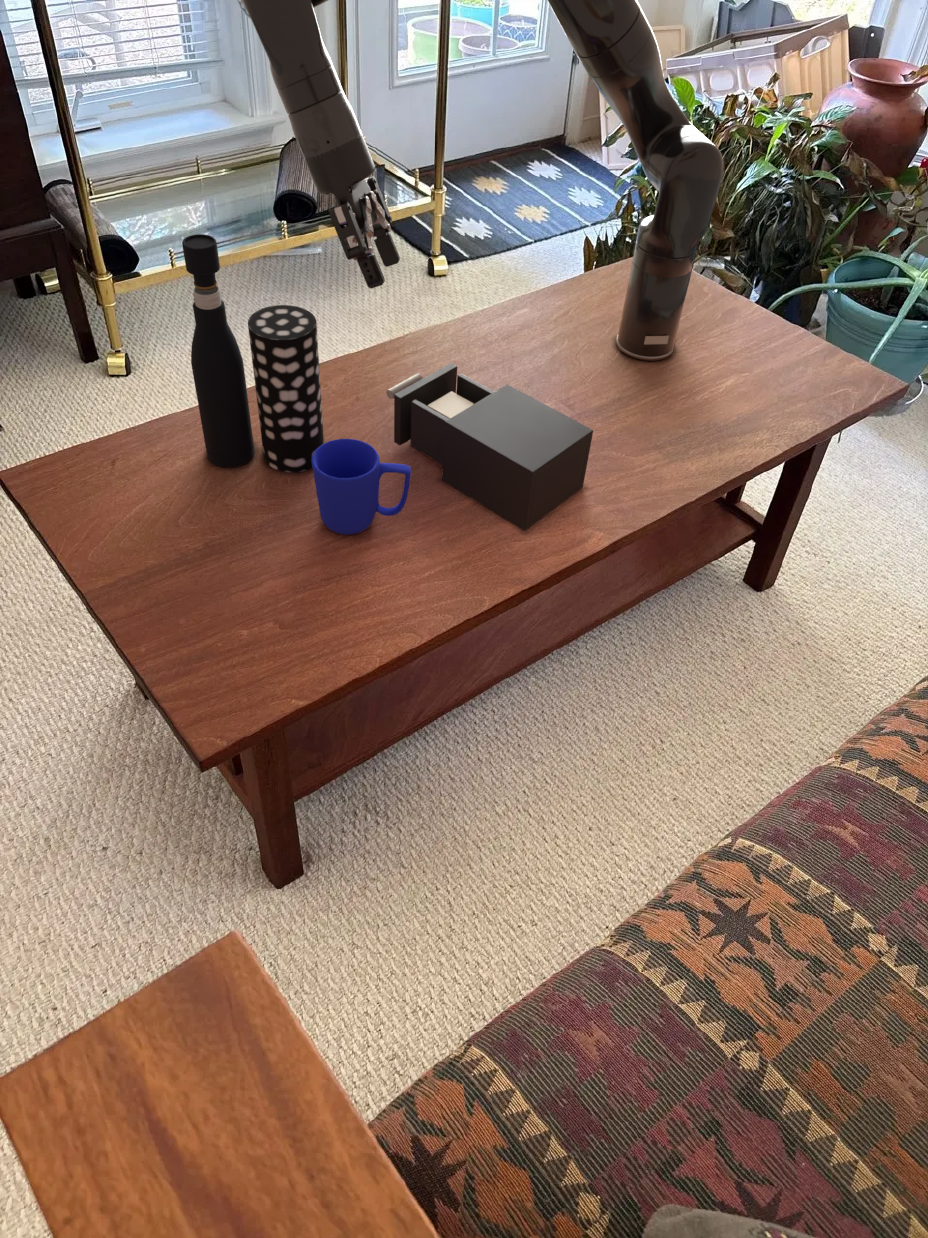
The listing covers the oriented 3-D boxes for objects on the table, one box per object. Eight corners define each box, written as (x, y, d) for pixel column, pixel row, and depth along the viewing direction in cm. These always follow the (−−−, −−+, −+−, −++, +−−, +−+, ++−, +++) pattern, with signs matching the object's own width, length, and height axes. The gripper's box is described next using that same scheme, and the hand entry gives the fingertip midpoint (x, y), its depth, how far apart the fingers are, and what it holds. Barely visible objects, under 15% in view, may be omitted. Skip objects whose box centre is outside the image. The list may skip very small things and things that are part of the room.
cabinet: (441, 480, 129) (444, 421, 122) (501, 441, 136) (507, 383, 129) (524, 531, 123) (532, 472, 116) (582, 487, 129) (593, 429, 122)
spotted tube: (292, 428, 135) (280, 298, 120) (336, 451, 132) (330, 320, 117) (250, 456, 130) (233, 323, 116) (296, 480, 127) (284, 347, 112)
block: (425, 435, 132) (427, 405, 129) (449, 420, 135) (451, 390, 131) (452, 451, 130) (454, 420, 127) (476, 436, 133) (478, 405, 129)
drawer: (372, 429, 134) (372, 381, 129) (427, 397, 141) (429, 350, 135) (466, 485, 127) (469, 438, 121) (519, 449, 133) (525, 402, 127)
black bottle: (215, 472, 127) (179, 258, 105) (201, 446, 131) (163, 233, 109) (261, 461, 129) (235, 248, 108) (245, 435, 133) (217, 224, 111)
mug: (407, 545, 120) (409, 483, 112) (312, 540, 119) (307, 477, 112) (411, 503, 125) (413, 441, 118) (320, 498, 125) (315, 435, 118)
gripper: (343, 144, 106) (399, 284, 114) (374, 119, 117) (423, 248, 125) (285, 168, 108) (345, 303, 117) (321, 140, 119) (372, 265, 128)
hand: (385, 274), depth 121 cm, fingers open, 8 cm apart
